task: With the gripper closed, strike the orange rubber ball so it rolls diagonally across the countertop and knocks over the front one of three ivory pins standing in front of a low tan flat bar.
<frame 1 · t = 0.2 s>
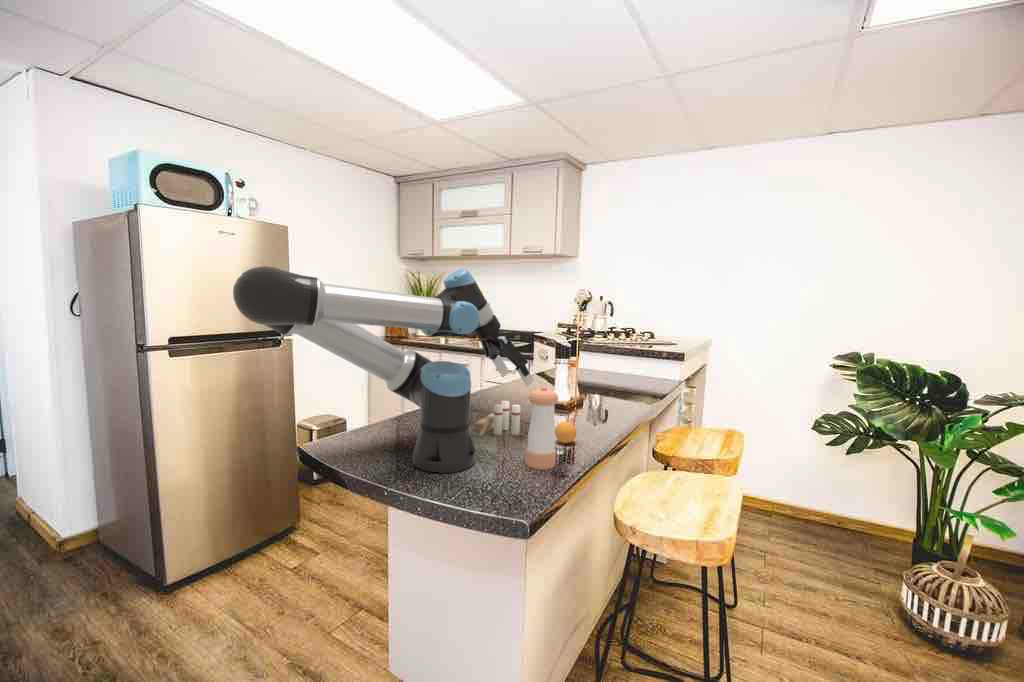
hand: (517, 378, 132), 15 cm above the table, tool tilted 35°, fingers open, 13 cm apart
ball: (565, 432, 123), on the table
salt shaker: (540, 464, 108), on the table
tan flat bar: (487, 429, 133), on the table
front pin: (515, 434, 129), on the table
pin 1: (497, 434, 129), on the table
pin 2: (504, 429, 133), on the table
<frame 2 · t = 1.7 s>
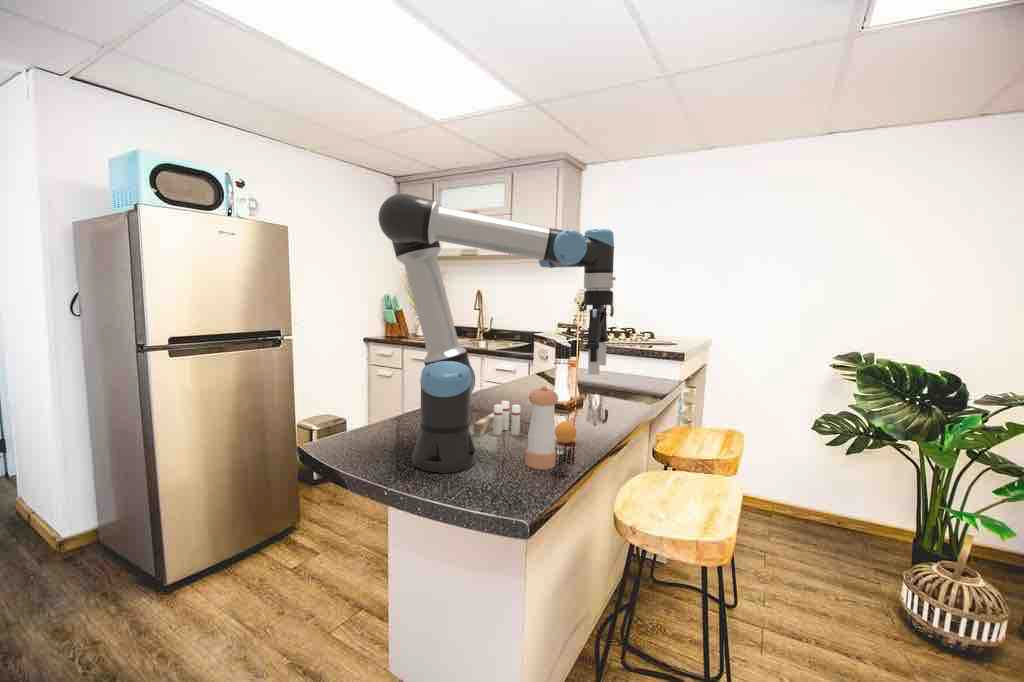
hand: (597, 369, 119), 21 cm above the table, tool pointing down, fingers open, 13 cm apart
nothing on the table moved.
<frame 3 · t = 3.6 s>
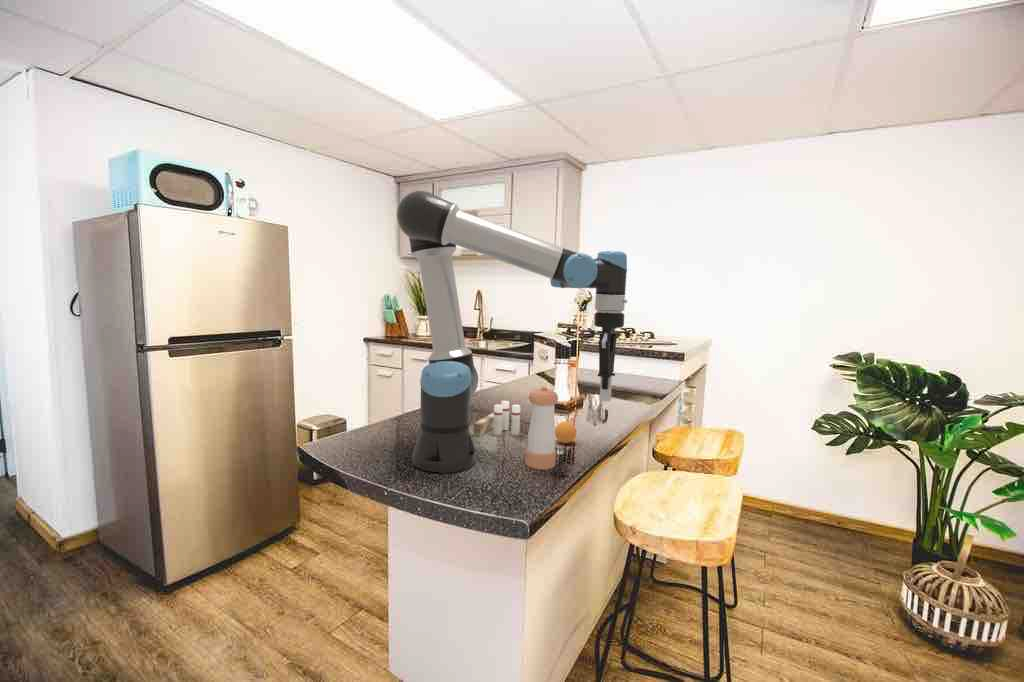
hand: (605, 400, 118), 13 cm above the table, tool pointing down, fingers closed
nothing on the table moved.
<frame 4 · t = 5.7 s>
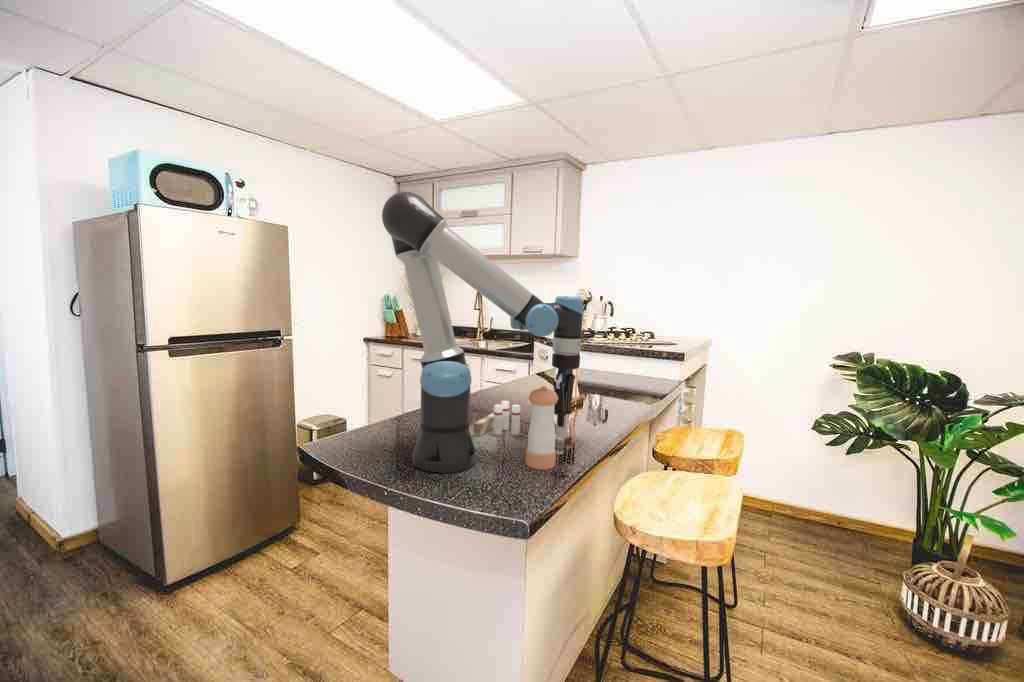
hand: (561, 436, 124), 2 cm above the table, tool pointing down, fingers closed
ball: (546, 429, 126), on the table
everything else where it was.
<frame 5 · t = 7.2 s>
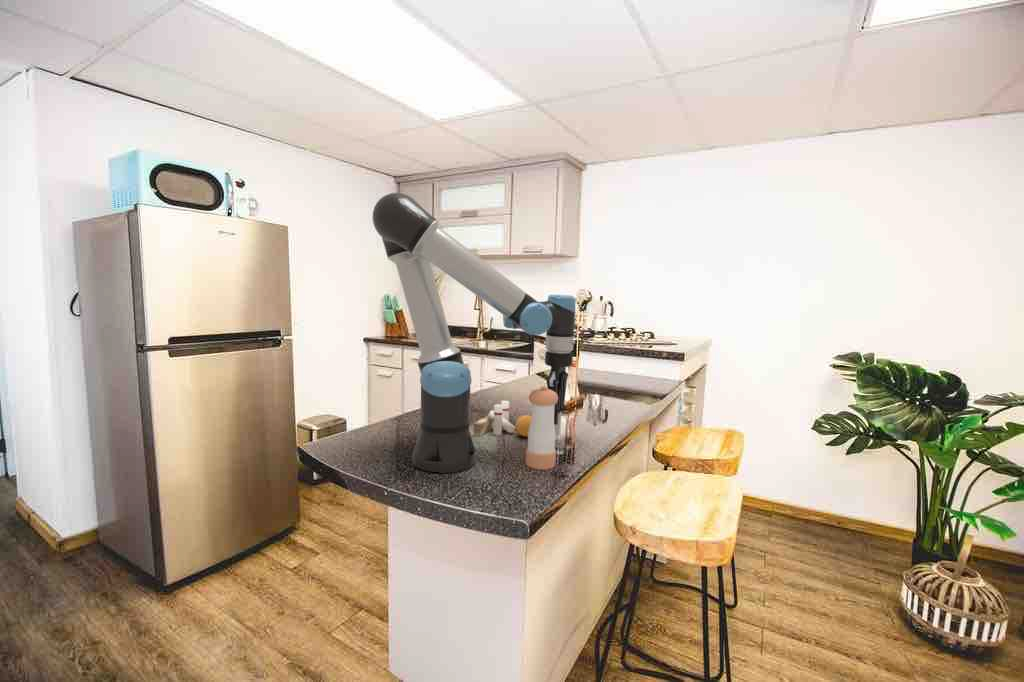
hand: (554, 434, 125), 2 cm above the table, tool pointing down, fingers closed
ball: (526, 425, 128), on the table
front pin: (512, 430, 130), point 1 cm above the table, tilted 63°, touching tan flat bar
everything else where it was.
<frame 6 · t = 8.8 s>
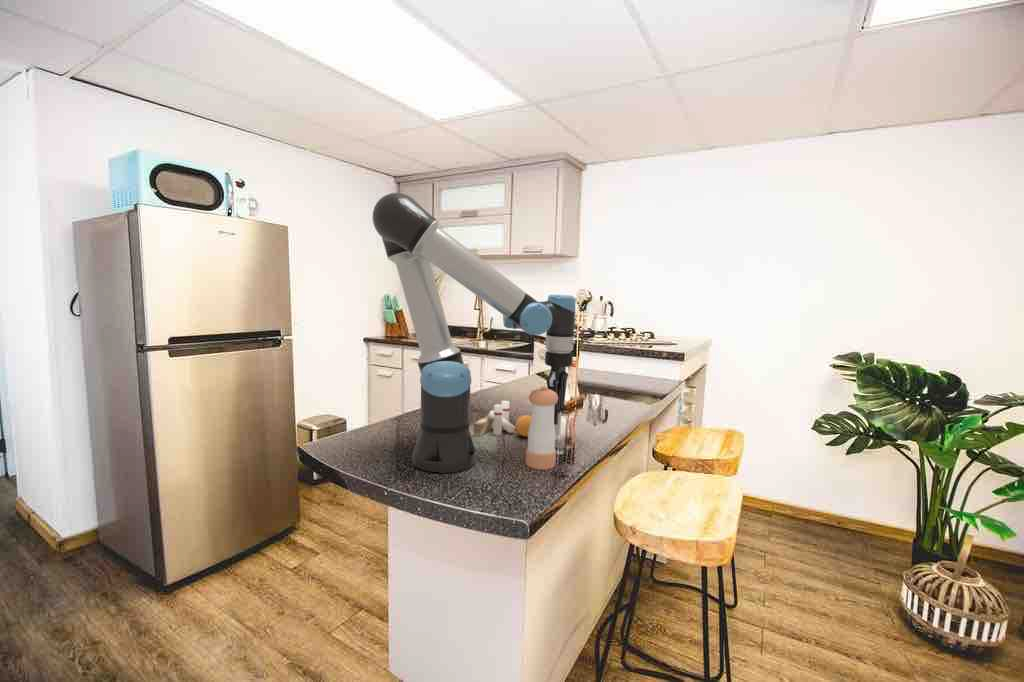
hand: (554, 434, 125), 2 cm above the table, tool pointing down, fingers closed
front pin: (512, 430, 130), point 1 cm above the table, tilted 63°
everything else where it was.
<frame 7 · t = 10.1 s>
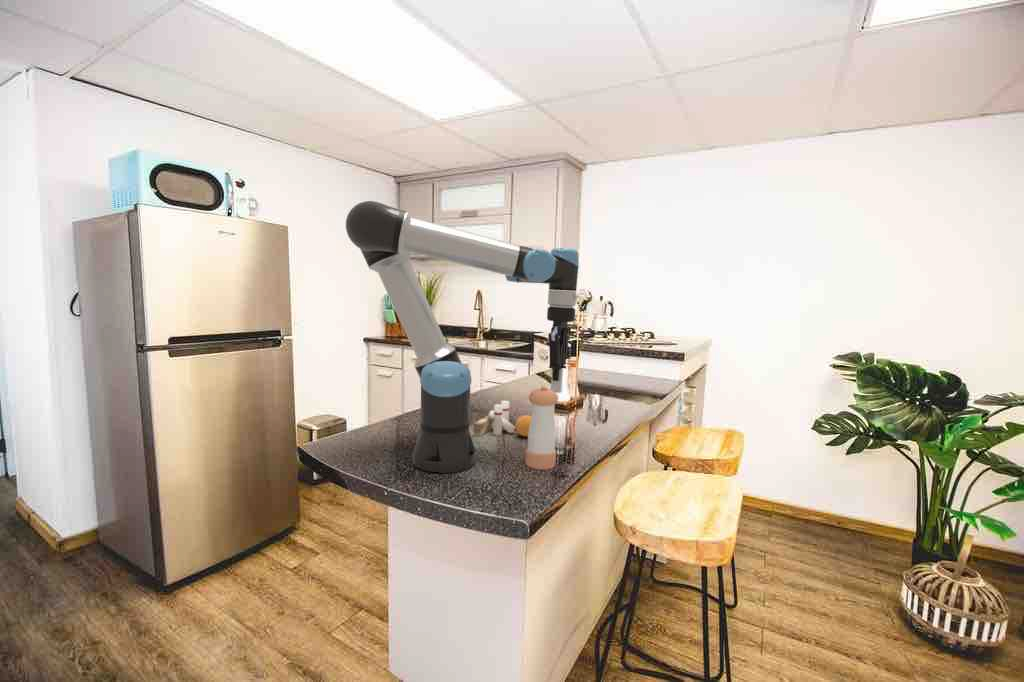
hand: (556, 391, 123), 14 cm above the table, tool pointing down, fingers closed
front pin: (512, 430, 130), point 1 cm above the table, tilted 63°, touching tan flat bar
everything else where it was.
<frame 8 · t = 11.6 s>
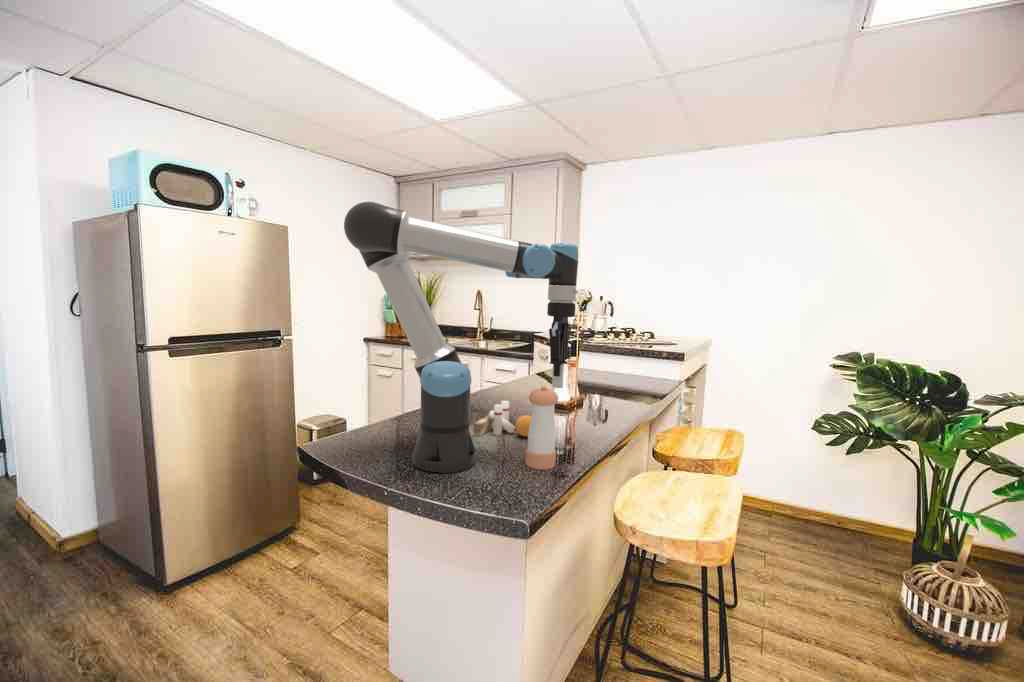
hand: (557, 387, 123), 15 cm above the table, tool pointing down, fingers closed
nothing on the table moved.
at the end: front pin tilted 63°; front pin never touched the robot; ball moved 11.8 cm from its start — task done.
